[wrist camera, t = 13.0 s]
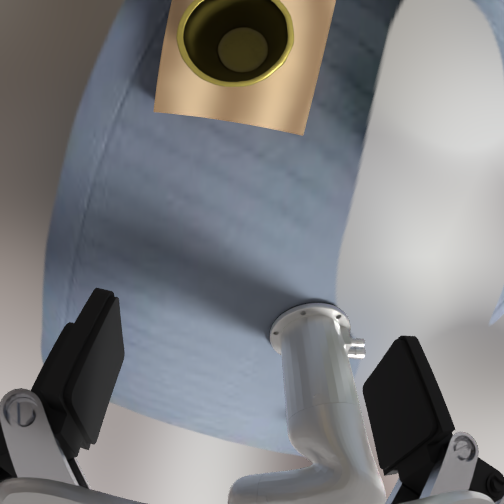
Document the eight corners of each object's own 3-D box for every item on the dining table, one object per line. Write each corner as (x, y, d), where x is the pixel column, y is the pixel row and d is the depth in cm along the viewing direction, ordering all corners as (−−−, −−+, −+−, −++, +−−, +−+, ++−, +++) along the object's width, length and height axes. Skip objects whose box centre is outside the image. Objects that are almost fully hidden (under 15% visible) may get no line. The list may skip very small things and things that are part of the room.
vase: (290, 37, 22) (328, 11, 10) (258, 93, 25) (264, 119, 14) (227, 8, 21) (204, -42, 9) (195, 66, 24) (144, 69, 12)
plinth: (326, 5, 23) (336, -2, 20) (297, 127, 31) (303, 135, 28) (186, -18, 22) (178, -28, 18) (164, 105, 29) (153, 111, 26)
